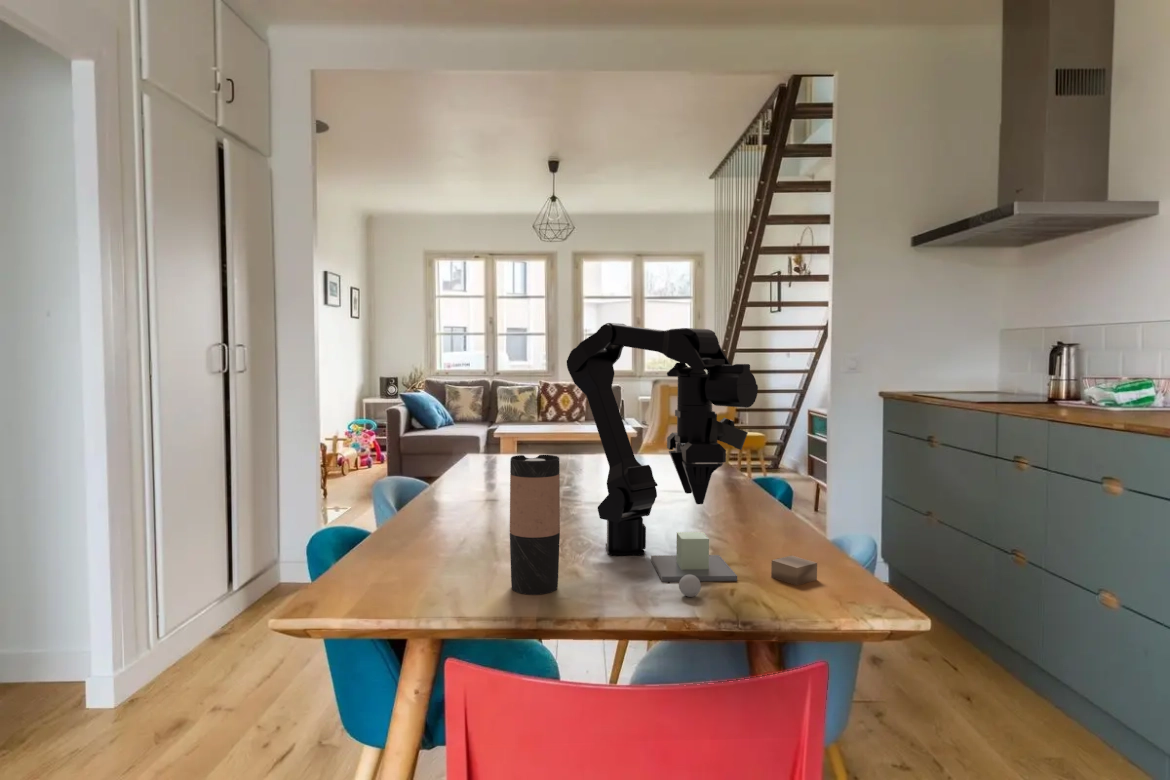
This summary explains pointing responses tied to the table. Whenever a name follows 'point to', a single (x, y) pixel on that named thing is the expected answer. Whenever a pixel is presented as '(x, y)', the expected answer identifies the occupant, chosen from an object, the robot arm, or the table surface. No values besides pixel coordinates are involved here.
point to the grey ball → (689, 585)
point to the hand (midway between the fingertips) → (693, 498)
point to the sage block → (692, 550)
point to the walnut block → (794, 570)
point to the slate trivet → (674, 573)
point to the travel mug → (534, 523)
